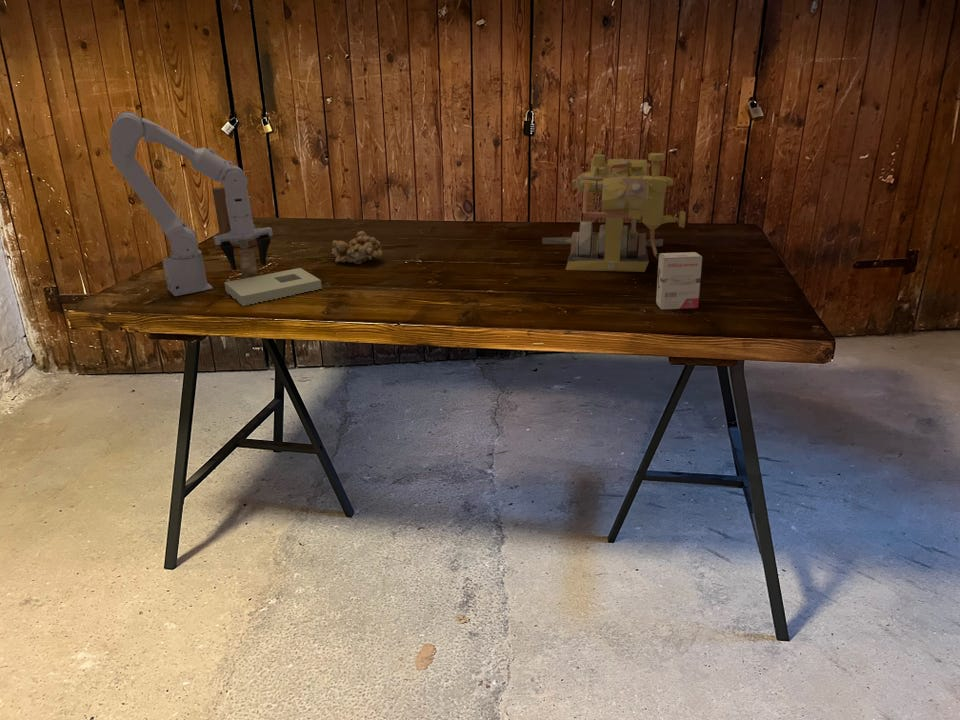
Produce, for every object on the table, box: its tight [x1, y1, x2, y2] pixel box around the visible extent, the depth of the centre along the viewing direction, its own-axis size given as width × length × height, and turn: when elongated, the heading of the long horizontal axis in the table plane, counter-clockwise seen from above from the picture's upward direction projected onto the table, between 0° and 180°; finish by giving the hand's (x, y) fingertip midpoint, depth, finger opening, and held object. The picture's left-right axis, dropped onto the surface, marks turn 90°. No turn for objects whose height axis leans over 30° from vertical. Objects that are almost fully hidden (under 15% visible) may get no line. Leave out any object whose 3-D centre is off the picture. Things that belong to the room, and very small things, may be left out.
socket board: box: [223, 267, 323, 307], centre depth 180 cm, size 20×14×2 cm
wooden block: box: [212, 186, 257, 248], centre depth 220 cm, size 4×11×18 cm, turn 83°
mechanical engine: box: [541, 148, 686, 273], centre depth 188 cm, size 39×37×30 cm
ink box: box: [655, 251, 703, 310], centre depth 160 cm, size 9×5×12 cm, turn 92°
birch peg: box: [237, 249, 259, 279], centre depth 187 cm, size 4×4×8 cm
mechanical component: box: [228, 224, 258, 251], centre depth 204 cm, size 3×10×10 cm, turn 152°
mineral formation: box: [331, 230, 383, 265], centre depth 201 cm, size 8×13×15 cm
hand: (248, 266), depth 187 cm, fingers open, 7 cm apart
